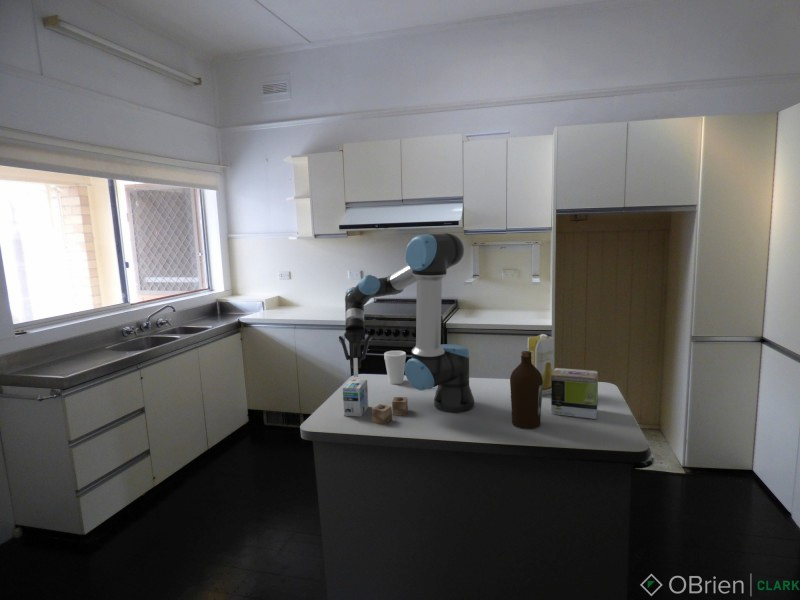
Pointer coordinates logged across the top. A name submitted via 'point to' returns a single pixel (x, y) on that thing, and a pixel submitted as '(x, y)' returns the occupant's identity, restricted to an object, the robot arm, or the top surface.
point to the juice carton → (542, 358)
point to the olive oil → (526, 393)
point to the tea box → (574, 392)
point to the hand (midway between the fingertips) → (355, 375)
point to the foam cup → (395, 366)
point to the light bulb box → (355, 397)
